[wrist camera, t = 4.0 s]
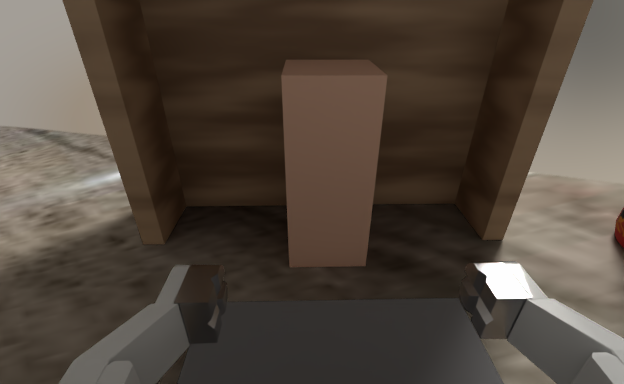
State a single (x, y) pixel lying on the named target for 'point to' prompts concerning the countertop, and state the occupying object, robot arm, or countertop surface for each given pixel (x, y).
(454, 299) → the mat
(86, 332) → the countertop surface
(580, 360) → the robot arm
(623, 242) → the canned food
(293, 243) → the block
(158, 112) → the shelf
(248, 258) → the countertop surface
